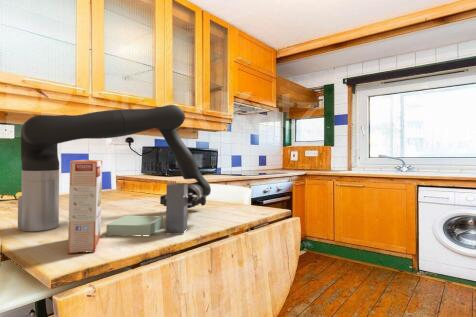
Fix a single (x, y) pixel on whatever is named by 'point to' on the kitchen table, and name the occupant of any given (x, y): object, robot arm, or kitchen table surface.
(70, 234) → the cracker box
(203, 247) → the kitchen table surface
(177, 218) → the block
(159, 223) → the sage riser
